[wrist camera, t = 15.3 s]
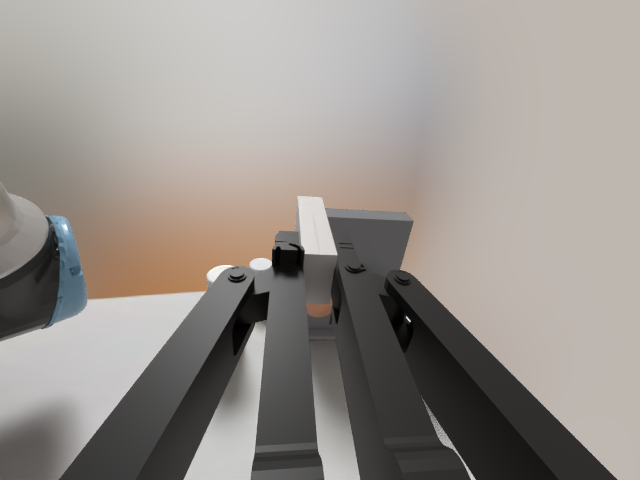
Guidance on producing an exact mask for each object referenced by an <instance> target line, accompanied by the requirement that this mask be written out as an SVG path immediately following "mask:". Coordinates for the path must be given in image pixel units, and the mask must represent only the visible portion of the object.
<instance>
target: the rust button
mask: <svg viewBox="0 0 640 480" xmlns="http://www.w3.org/2000/svg"><path fill="white" fill-rule="evenodd" d="M306 307H307V314H309V315H310V316H313V317H324V316H327V315H329V314H330V313H331V308H332V298H331V299H330V304H306Z"/></svg>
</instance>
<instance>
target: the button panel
mask: <svg viewBox="0 0 640 480" xmlns="http://www.w3.org/2000/svg"><path fill="white" fill-rule="evenodd" d="M325 211H326V215H327V218H328V222H329V226H330V229H331V233H345V234H346V235H347V236H348V237H350V239H351V241H352V245H353V246H354V249H355V252H356V254H357V257H358V259H359V262H362V263H363V264H365V265H366V266H367V268H368V270H369V272H370V273H372V274H375V275H379V276H383V277H386V275H387V273H388V272H389V271H392V270H400V267H401V264H402V260H403V257H404V253H405V250H406V246H407V243H408V239H409V235H410V232H411V228H412V225H413V220H412V219H411V218H410V217H409V215H408V214H407V213H406V212H387V211H386V212H385V211H366V210H348V209H329V208H325ZM330 314H331V313H330ZM330 314H329V315H327V316H324V317H313V316H310V315H309V314H307V320H308V333H309V340H336V337H335V332H334V326H333V320H332V324H329V320H330Z"/></svg>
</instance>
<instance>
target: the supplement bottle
mask: <svg viewBox="0 0 640 480" xmlns="http://www.w3.org/2000/svg"><path fill="white" fill-rule="evenodd" d="M271 266H272V263H271V261H270V260H268V259H265V258H257V259H254V260H252V261H251V262H250V269H251V270H252V271H253V272H254V273H259V272H263V271H265V270H267V269H269V268H270V267H271Z"/></svg>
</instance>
